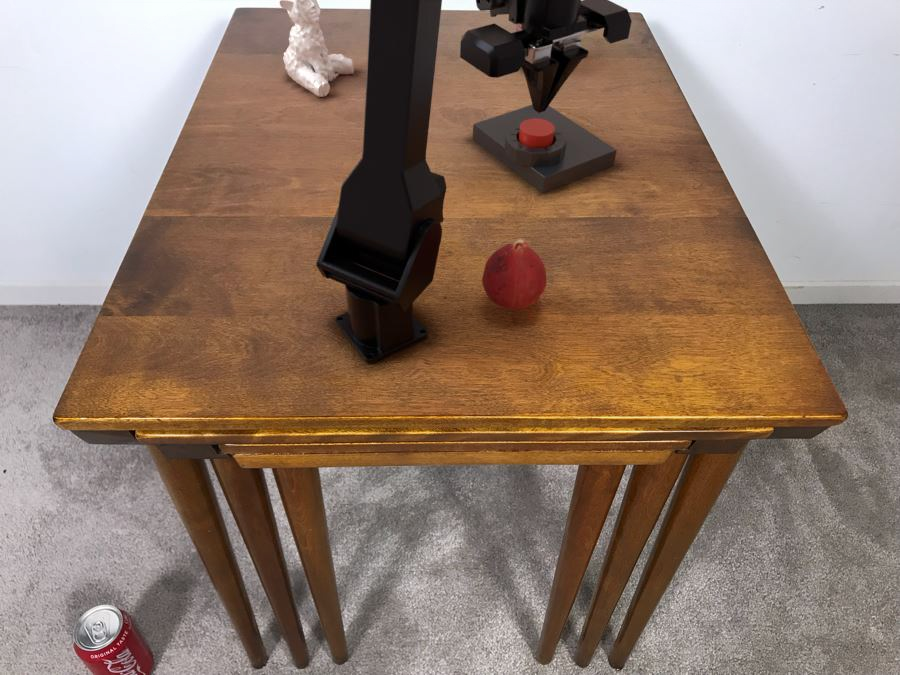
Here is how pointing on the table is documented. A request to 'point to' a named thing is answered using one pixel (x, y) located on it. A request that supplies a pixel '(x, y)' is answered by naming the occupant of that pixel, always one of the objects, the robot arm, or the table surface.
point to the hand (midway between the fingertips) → (539, 110)
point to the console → (544, 166)
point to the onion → (514, 276)
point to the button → (536, 133)
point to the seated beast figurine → (311, 49)
